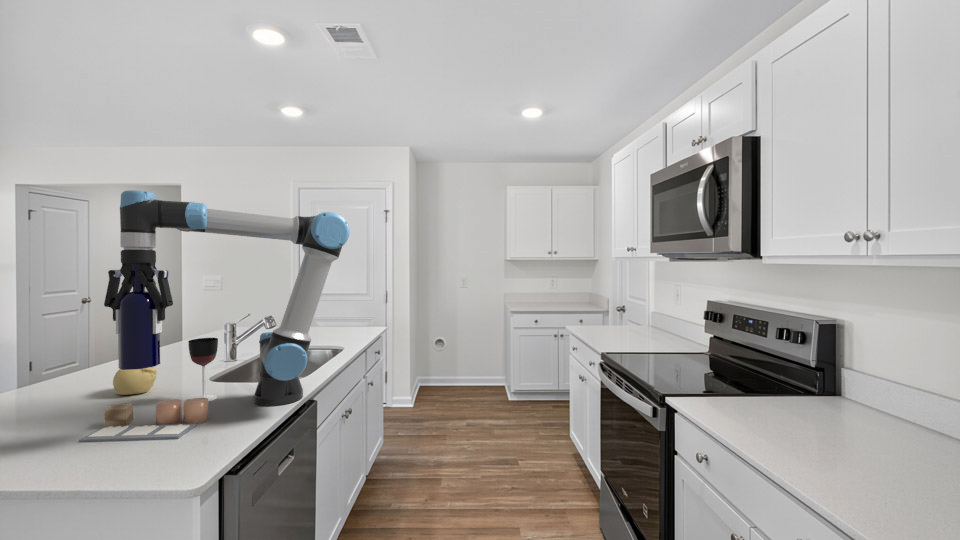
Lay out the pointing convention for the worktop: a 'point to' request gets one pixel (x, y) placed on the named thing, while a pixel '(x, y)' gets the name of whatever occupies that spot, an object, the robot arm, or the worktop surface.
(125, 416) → the oak box
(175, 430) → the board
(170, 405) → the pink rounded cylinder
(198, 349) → the wineglass
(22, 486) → the worktop surface
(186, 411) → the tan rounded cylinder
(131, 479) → the worktop surface
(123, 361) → the bottle
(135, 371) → the yellow rounded lump
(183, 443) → the worktop surface
